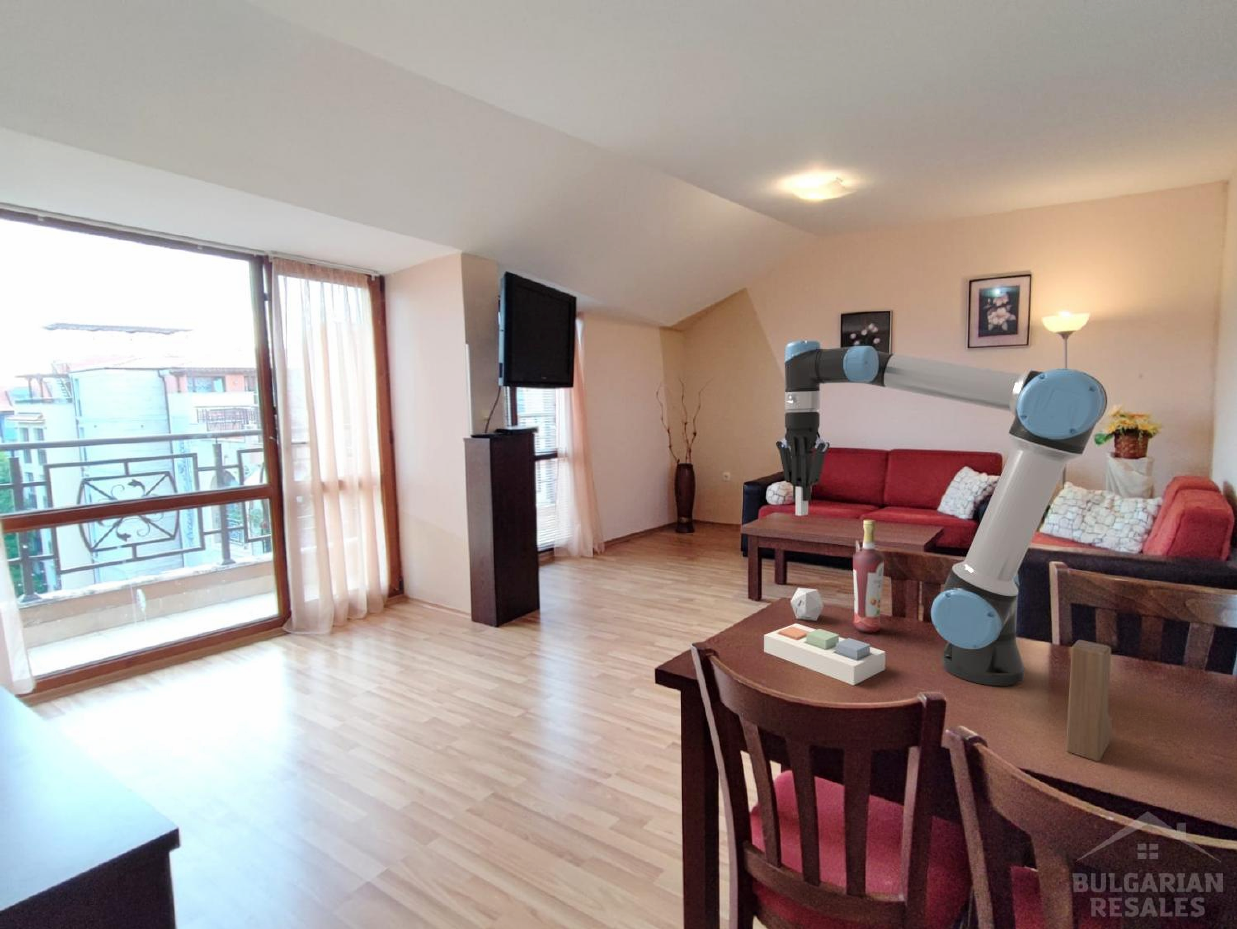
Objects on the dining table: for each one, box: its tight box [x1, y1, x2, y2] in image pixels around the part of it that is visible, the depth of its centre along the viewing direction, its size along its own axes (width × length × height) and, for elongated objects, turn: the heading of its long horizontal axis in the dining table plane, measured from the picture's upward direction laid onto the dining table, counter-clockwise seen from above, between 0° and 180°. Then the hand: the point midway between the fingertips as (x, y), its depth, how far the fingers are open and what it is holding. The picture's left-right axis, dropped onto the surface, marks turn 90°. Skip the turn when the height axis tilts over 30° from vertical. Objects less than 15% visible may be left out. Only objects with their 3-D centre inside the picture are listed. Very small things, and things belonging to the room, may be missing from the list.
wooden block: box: [1065, 639, 1113, 762], centre depth 104 cm, size 9×4×18 cm, turn 133°
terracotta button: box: [779, 626, 810, 640], centre depth 147 cm, size 5×5×3 cm
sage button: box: [806, 628, 840, 650], centre depth 141 cm, size 5×5×3 cm
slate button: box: [836, 637, 871, 661], centre depth 135 cm, size 5×5×3 cm
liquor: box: [852, 519, 885, 634], centre depth 159 cm, size 7×7×28 cm
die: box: [790, 587, 824, 622], centre depth 169 cm, size 8×9×10 cm
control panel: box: [763, 623, 886, 686], centre depth 141 cm, size 23×12×4 cm, turn 38°
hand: (801, 514), depth 144 cm, fingers closed
